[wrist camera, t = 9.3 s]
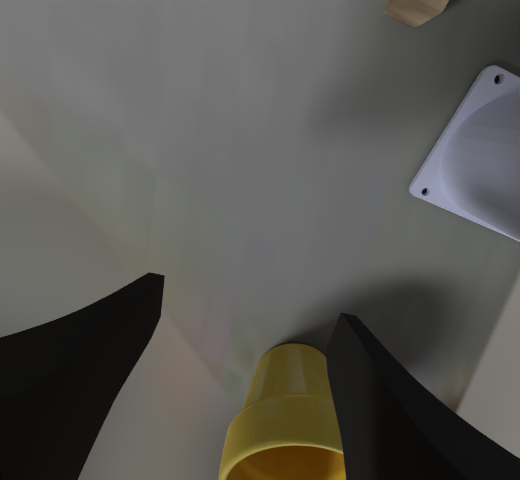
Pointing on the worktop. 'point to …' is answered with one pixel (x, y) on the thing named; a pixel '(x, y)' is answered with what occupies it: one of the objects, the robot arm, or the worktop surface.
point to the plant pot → (286, 422)
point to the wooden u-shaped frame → (414, 10)
